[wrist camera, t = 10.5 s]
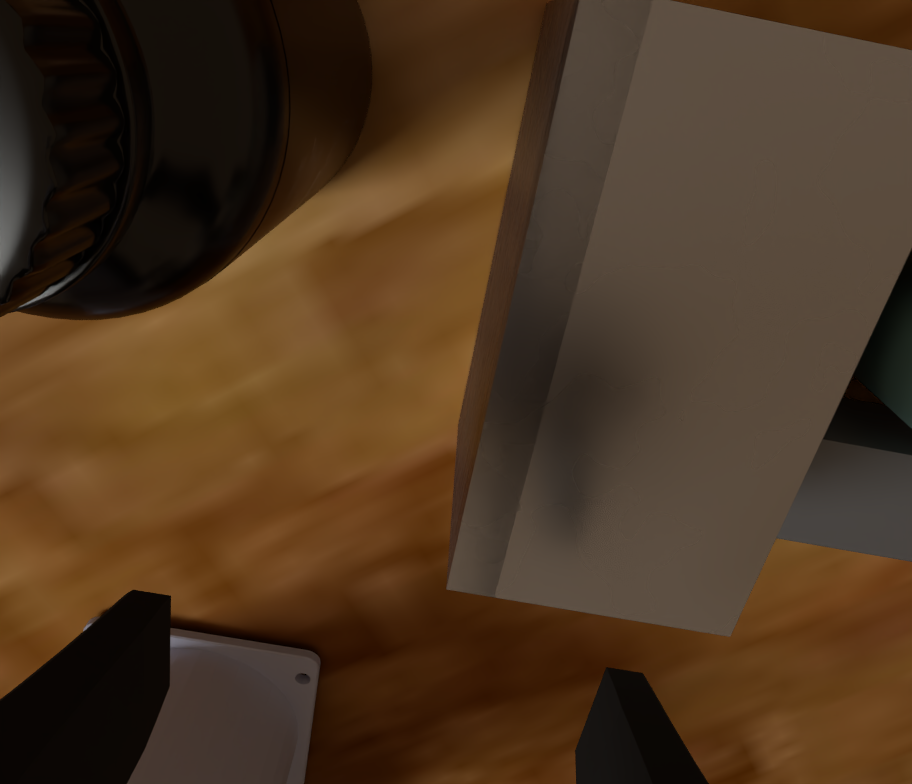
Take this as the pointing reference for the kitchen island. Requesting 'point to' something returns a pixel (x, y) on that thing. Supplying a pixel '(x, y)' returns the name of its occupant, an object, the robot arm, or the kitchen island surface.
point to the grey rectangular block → (674, 304)
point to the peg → (892, 351)
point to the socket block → (858, 484)
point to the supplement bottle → (163, 140)
